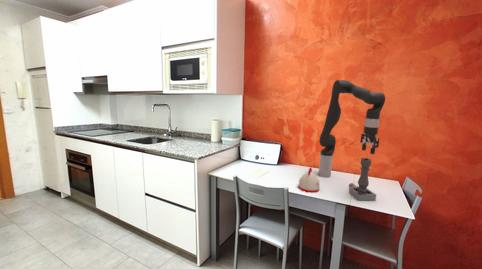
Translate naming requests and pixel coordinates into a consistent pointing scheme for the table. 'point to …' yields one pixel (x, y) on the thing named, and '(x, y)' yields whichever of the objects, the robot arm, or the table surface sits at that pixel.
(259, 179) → the table surface
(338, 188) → the table surface
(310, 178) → the beige red dome
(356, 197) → the grey tray
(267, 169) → the table surface
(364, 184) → the candle holder
